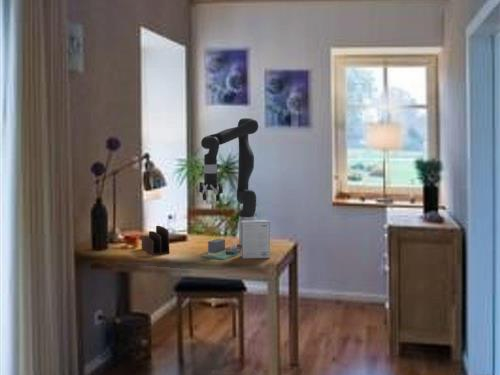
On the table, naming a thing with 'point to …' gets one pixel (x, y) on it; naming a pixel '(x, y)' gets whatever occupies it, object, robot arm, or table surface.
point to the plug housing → (216, 246)
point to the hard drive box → (255, 238)
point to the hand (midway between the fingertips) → (211, 200)
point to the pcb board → (224, 253)
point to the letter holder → (156, 242)
